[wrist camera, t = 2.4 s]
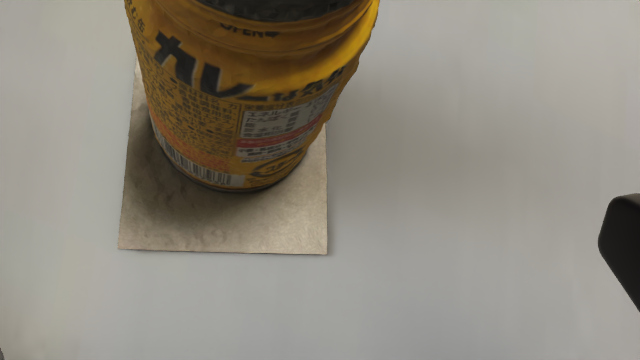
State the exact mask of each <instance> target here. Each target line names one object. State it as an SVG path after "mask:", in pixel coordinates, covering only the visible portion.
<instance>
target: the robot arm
mask: <svg viewBox="0 0 640 360" xmlns="http://www.w3.org/2000/svg"><path fill="white" fill-rule="evenodd" d="M598 248H599V251H600V253H601V255H602V257H603V258H604V260H605V261H606V263H607V264H608V266H609V267H610V269H611V270H612V272H613V273H614V275H615V276H616V278H617V279H618V281H619V282H620V283H621V285H622V286H623V288H624V289H625V291H626V292H627V294H628V295H629V297H630V298H631V300H632V301H633V303H634V304H635V306H636V307H637V309H638V310H639V312H640V194H629V195H624V196H618V197H616V198H614V199H612V201H611V202H610V203H609V205H608V208H607V211H606V214H605V218H604V221H603V224H602V227H601V230H600V234H599V237H598ZM0 360H4V356H3V353H2V351H1V348H0Z"/></svg>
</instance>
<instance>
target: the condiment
mask: <svg viewBox="0 0 640 360" xmlns="http://www.w3.org/2000/svg"><path fill="white" fill-rule="evenodd" d="M124 2H125V9H126V14H127V17H128V19H129V24H130V27H131V33H132V37H133V41H134V44H135V48H136V53H137V56H136V68H135V78H134V89H133V100H132V109H131V121H130V129H129V140H128V146H127V159H126V169H125V177H124V190H123V201H122V209H121V218H120V229H119V239H118V249H144V250H167V251H195V252H238V253H282V254H327V193H326V182H327V170H326V122H327V121H328V120H329V119H330V117H331V114H332V111H333V109H334V107H335V105H336V102H337V99H338V97H339V95H340V93H341V92H342V90H343V88H344V87H345V85H346V84H347V82H348V81H349V80H350V78H351V77H352V76H353V74H354V73H355V72H356V70H357V67H358V64H359V57H360V55H361V53H362V52H363V50H364V48H365V47H366V45H367V43H368V41H369V40H370V37H371V31H372V29H373V28H374V26H375V22H376V19H377V15H378V7H379V2H380V0H124Z"/></svg>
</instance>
